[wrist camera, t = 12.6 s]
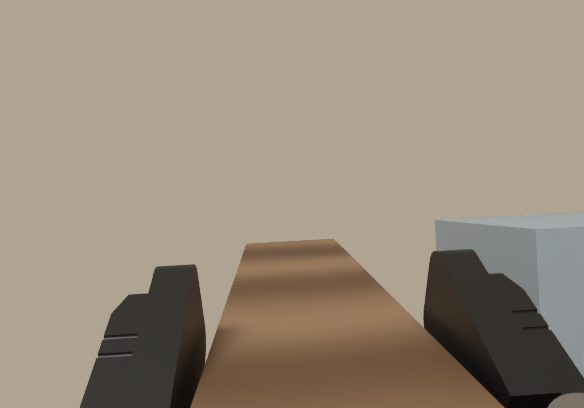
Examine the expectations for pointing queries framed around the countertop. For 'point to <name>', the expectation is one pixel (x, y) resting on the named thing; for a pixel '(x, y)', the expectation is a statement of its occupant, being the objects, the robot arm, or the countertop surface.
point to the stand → (532, 264)
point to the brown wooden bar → (324, 340)
